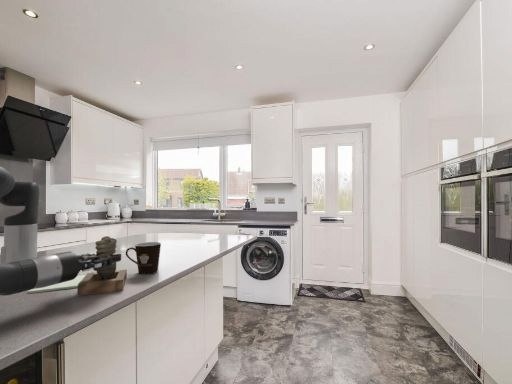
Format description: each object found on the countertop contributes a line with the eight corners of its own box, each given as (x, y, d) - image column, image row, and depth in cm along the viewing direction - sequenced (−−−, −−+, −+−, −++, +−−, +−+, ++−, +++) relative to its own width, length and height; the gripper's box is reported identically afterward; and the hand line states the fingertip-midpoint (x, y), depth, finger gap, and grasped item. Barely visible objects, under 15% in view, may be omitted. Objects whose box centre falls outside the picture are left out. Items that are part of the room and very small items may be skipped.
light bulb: (106, 290, 74) (107, 237, 75) (89, 289, 75) (90, 237, 76) (120, 284, 80) (121, 235, 80) (104, 283, 81) (105, 234, 81)
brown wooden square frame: (77, 296, 70) (77, 284, 70) (87, 283, 81) (87, 273, 81) (122, 290, 74) (123, 279, 74) (126, 278, 85) (126, 269, 85)
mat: (27, 293, 72) (27, 291, 72) (44, 281, 83) (44, 279, 84) (78, 287, 77) (78, 285, 77) (87, 276, 88) (87, 274, 88)
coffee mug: (166, 270, 95) (166, 242, 96) (147, 276, 88) (147, 246, 88) (143, 267, 100) (143, 241, 101) (123, 272, 92) (123, 244, 93)
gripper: (69, 257, 62) (130, 245, 77) (36, 252, 68) (99, 242, 83) (68, 288, 62) (130, 271, 77) (35, 281, 68) (98, 266, 83)
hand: (113, 256), depth 80 cm, fingers closed on light bulb, 5 cm apart
